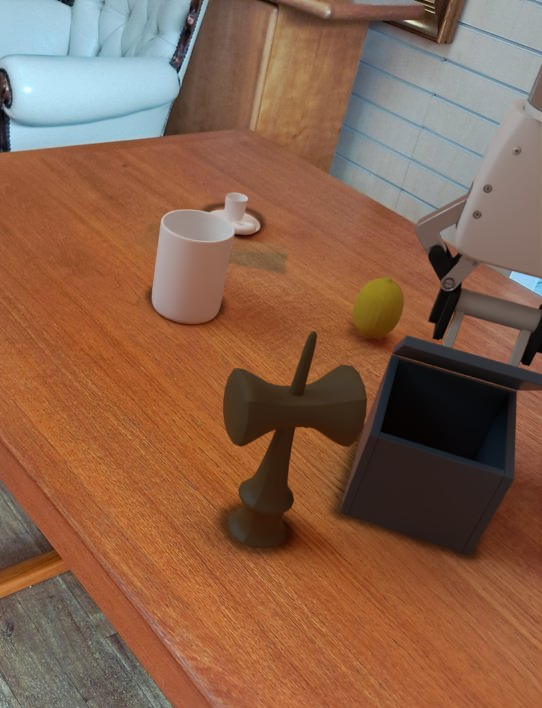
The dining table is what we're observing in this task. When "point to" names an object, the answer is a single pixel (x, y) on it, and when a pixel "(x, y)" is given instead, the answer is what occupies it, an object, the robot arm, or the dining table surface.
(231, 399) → the kendama
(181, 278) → the mug
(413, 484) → the chest
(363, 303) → the lemon
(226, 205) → the teacup and saucer
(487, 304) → the lid
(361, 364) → the dining table surface
